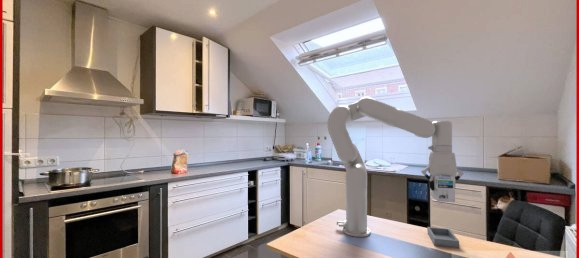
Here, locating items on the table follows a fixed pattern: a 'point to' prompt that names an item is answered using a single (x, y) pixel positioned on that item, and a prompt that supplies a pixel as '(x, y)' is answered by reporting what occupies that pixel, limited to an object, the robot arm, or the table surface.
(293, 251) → the table surface
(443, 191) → the light bulb box
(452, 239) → the tray
